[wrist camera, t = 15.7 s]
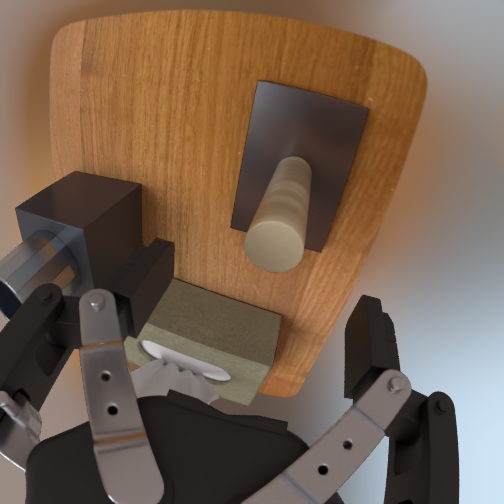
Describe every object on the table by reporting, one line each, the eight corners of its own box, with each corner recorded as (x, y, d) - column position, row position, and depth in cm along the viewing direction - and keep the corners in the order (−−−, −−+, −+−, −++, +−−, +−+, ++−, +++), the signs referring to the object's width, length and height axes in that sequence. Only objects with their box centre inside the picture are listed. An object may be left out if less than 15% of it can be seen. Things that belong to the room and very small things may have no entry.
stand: (74, 171, 31) (14, 208, 23) (141, 183, 30) (83, 229, 22) (82, 240, 37) (35, 284, 28) (143, 259, 36) (100, 314, 28)
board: (260, 79, 22) (257, 79, 21) (366, 107, 22) (369, 109, 21) (233, 221, 30) (229, 228, 29) (321, 245, 30) (321, 253, 28)
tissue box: (285, 315, 36) (260, 436, 23) (263, 359, 41) (237, 460, 28) (140, 264, 36) (69, 359, 23) (140, 315, 42) (87, 400, 29)
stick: (293, 148, 24) (271, 209, 14) (319, 173, 24) (316, 250, 15) (268, 172, 25) (231, 246, 15) (294, 196, 26) (274, 282, 16)
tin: (36, 215, 22) (-16, 257, 17) (89, 266, 24) (41, 318, 18) (27, 258, 26) (-13, 298, 20) (72, 302, 28) (36, 347, 22)
